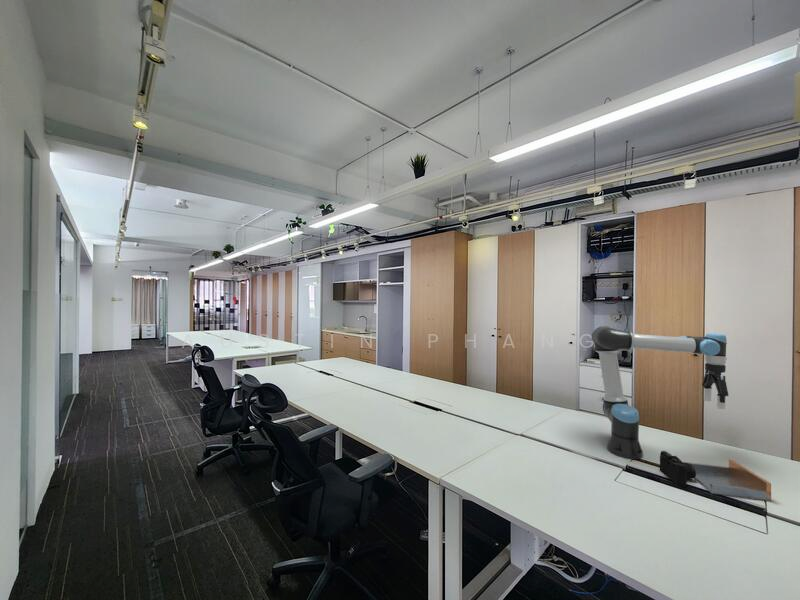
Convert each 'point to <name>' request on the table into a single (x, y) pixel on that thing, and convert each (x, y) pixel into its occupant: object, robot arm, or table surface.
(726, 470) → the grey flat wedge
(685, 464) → the camera
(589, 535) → the table surface
